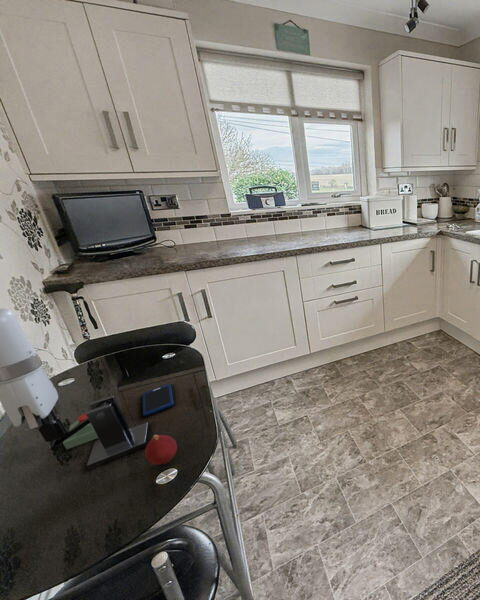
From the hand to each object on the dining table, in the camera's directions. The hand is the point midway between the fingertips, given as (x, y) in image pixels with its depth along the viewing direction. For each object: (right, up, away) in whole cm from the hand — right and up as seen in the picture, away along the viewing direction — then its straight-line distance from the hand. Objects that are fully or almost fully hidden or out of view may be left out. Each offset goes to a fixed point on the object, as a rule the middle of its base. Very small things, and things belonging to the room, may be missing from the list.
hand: (57, 437), depth 74 cm
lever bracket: (+8, -5, +7) cm, 12 cm away
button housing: (-4, -4, +14) cm, 15 cm away
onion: (+24, -6, +1) cm, 25 cm away
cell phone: (+5, +1, +24) cm, 25 cm away
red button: (-4, -1, +12) cm, 13 cm away
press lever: (+4, +1, +3) cm, 5 cm away
